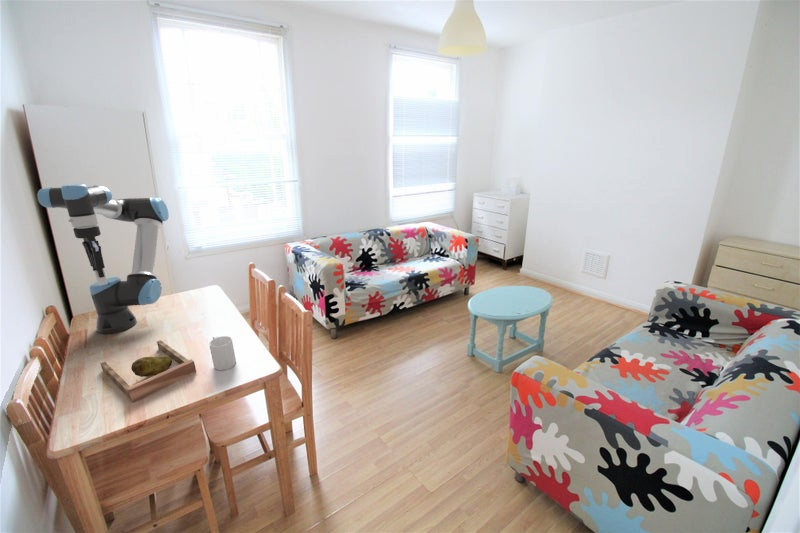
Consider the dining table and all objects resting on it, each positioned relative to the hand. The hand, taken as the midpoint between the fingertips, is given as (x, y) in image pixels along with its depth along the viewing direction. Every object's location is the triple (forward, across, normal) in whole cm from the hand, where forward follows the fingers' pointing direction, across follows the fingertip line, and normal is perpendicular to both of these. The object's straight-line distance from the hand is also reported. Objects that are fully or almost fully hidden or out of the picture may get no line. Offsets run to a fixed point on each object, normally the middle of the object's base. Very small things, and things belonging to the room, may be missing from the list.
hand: (103, 284), depth 147 cm
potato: (+30, +31, +1) cm, 43 cm away
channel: (+29, +27, 0) cm, 40 cm away
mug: (+30, +45, +20) cm, 57 cm away
